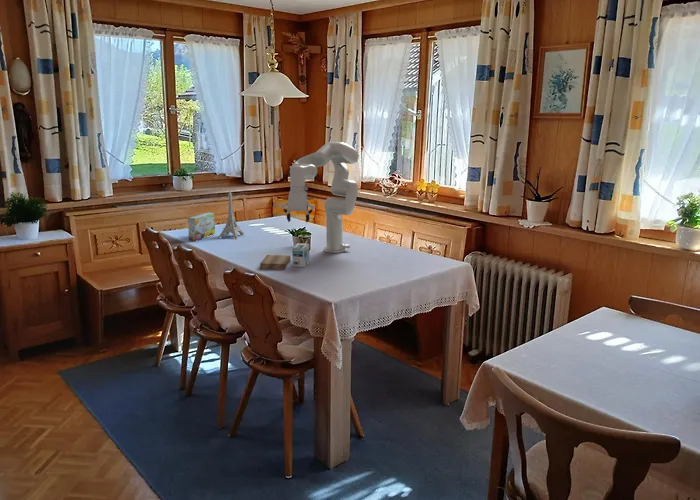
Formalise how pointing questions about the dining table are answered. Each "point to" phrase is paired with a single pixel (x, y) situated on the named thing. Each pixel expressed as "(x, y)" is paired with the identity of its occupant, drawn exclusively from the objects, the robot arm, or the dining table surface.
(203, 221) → the snack box
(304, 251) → the light bulb box
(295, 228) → the dining table surface
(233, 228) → the eiffel tower
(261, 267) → the podium
